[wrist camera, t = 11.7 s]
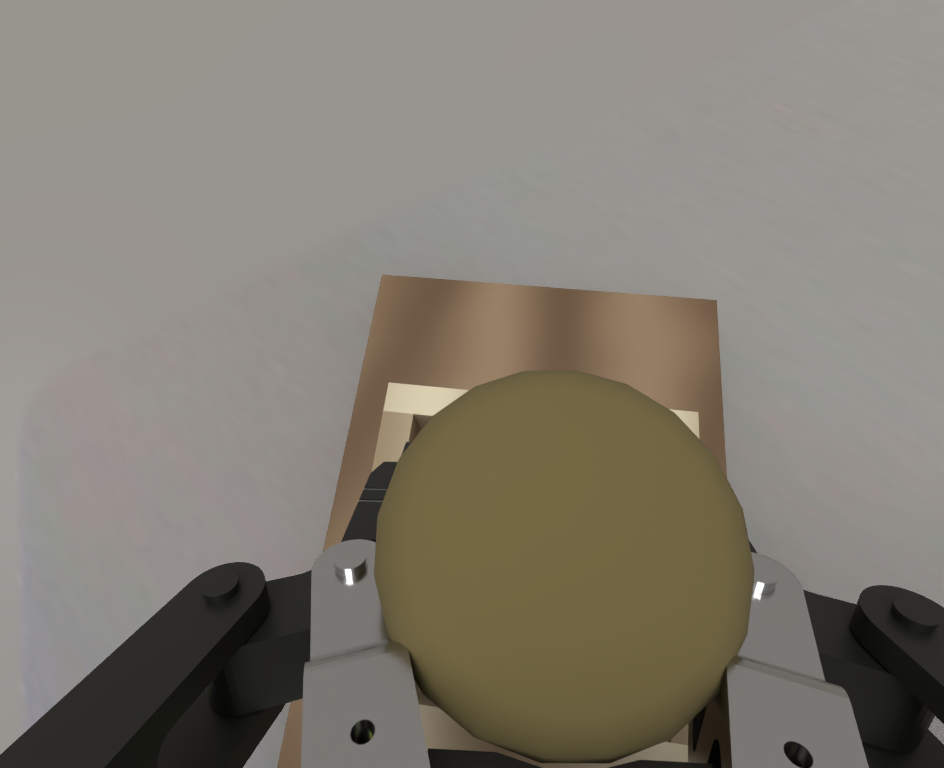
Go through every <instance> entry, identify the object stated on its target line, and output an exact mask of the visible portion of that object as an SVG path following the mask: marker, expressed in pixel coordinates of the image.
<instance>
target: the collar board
mask: <svg viewBox="0 0 944 768" xmlns="http://www.w3.org/2000/svg"><path fill="white" fill-rule="evenodd" d="M542 370H578V371H581V372H585V373H589V374H592V375H596V376H600V377H603V378H607V379H611V380H614V381H618V382H622V383H625V384H628V385H629V386H631V387H633V388H634V389H636V390H638V391H639V392H641V393H643V394H644V395H646V396H648V397H649V398H651V399H653V400H654V401H656V402H658V403H659V404H661V405H663V406H664V407H666V408H668V409H669V410H671V411H673V412H674V413H675V414H676V415H677V416H678V417H679V418H680V419H681V420H682V421H683V422H684V423H685V424H686V425H687V426H688V427H689V429H690V430H691V431H692V432H693V433H694V434H695V435H696V436H697V437H698V438H699V439H700V440H701V441H702V442H703V443H704V444H705V446H706V447H707V448H708V449H709V450H710V451H711V452H712V453H713V454H714V455H715V457H716V459H717V461H718V463H719V465H720V467H721V469H722V470H723V472H724V474H725V476H726V478H727V474H726V456H725V439H724V422H723V404H722V387H721V369H720V352H719V335H718V317H717V300H706V299H693V298H680V297H667V296H654V295H641V294H628V293H614V292H601V291H588V290H575V289H562V288H549V287H536V286H523V285H510V284H497V283H484V282H471V281H458V280H445V279H431V278H418V277H405V276H392V275H382V277H381V282H380V287H379V291H378V296H377V301H376V305H375V310H374V315H373V319H372V324H371V329H370V334H369V338H368V343H367V348H366V352H365V357H364V362H363V366H362V371H361V376H360V381H359V385H358V390H357V395H356V399H355V404H354V409H353V413H352V418H351V423H350V427H349V432H348V437H347V442H346V446H345V451H344V456H343V460H342V465H341V470H340V474H339V479H338V484H337V489H336V493H335V498H334V503H333V507H332V512H331V517H330V521H329V526H328V531H327V536H326V540H325V545H324V550H323V552H324V551H325V550H327V549H328V548H330V547H331V546H334V545H336V544H338V543H341V541H342V538H343V536H344V534H345V531H346V529H347V527H348V524H349V522H350V520H351V517H352V515H353V513H354V510H355V508H356V506H357V503H358V502H359V499H360V496H361V494H362V492H363V490H364V487H365V485H366V482H367V480H368V478H369V475H370V473H371V472H373V471H374V470H375V469H376V468H377V467H378V466H379V465H381V464H382V463H383V462H398V460H399V458H400V457H401V455H402V452H403V449H404V446H405V444H406V442H412V441H413V440H414V439H415V437H416V436H417V435H418V434H419V432H420V431H421V430H422V428H423V427H424V426H425V425H426V423H427V422H428V421H429V419H430V418H431V417H432V416H433V415H435V414H436V413H437V412H439V411H440V410H442V409H443V408H445V407H446V406H447V405H449V404H450V403H452V402H453V401H455V400H456V399H457V398H459V397H460V396H462V395H463V394H465V393H466V392H467V391H469V390H470V389H472V388H473V387H475V386H478V385H481V384H484V383H487V382H490V381H493V380H496V379H500V378H503V377H506V376H509V375H512V374H515V373H518V372H521V371H542ZM414 682H415V688H416V693H417V698H418V704H419V709H420V714H421V720H422V725H423V730H424V736H425V741H426V746H427V752H428V748H431V749H450V750H468V751H487V752H498V753H500V754H503V755H506V756H509V757H512V758H515V759H518V760H521V761H524V762H527V763H530V764H533V765H536V766H539V767H542V768H609V767H613V766H617V765H621V764H625V763H629V762H633V761H637V760H654V761H673V762H688V724H687V725H686V726H685V727H684V728H682V729H681V730H680V731H679V732H678V733H677V734H676V735H675V736H674V737H673V738H672V739H670V740H667V741H665V742H662V743H660V744H657V745H655V746H652V747H650V748H647V749H645V750H642V751H640V752H637V753H635V754H632V755H630V756H627V757H625V758H622V759H620V760H617V761H615V762H612V763H540V762H537V761H534V760H531V759H529V758H526V757H524V756H521V755H519V754H516V753H513V752H511V751H508V750H506V749H503V748H500V747H498V746H495V745H493V744H490V743H487V742H485V741H482V740H480V739H477V738H475V737H473V736H472V735H471V734H469V733H468V732H467V731H466V730H465V729H464V728H462V727H461V726H460V725H459V724H458V723H457V722H455V721H454V720H453V719H452V718H451V717H450V716H448V715H447V714H446V713H445V712H444V711H443V710H441V709H440V708H439V707H438V706H437V705H436V704H434V703H433V702H432V701H431V700H430V699H429V698H427V697H426V696H425V695H424V694H423V693H422V691H421V690H420V688H419V686H418V685H417V683H416V681H415V680H414ZM302 710H303V699H299V700H295V701H292V702H291V705H290V709H289V714H288V719H287V723H286V728H285V733H284V737H283V742H282V747H281V752H280V756H279V761H278V766H277V768H301V746H302Z"/></svg>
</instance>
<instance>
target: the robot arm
mask: <svg viewBox="0 0 944 768" xmlns="http://www.w3.org/2000/svg"><path fill="white" fill-rule="evenodd" d="M411 443H412V442H406V444H405V446H404V449H403V452H402V454H403V453H404V452H405V450H406V449H407V448H408V446H409V445H410V444H411ZM396 465H397V462H383V463H382V464H381V465H379V466H378V467H377V468H376V469H375V470H374V471H373V472H371V473H370V475H369V478H368V480H367V482H366V485H365V487H364V490H363V492H362V494H361V496H360V499H359V502H358V503H357V506H356V508H355V510H354V513H353V515H352V517H351V520H350V522H349V524H348V527H347V529H346V531H345V534H344V536H343V538H342V541H341V543H338V544H336V545H334V546H331V547H330V548H328V549H327V550H325V551H324V552H323V553H322V554H321V555H320V556H319V557H318V558H317V559H316V561H315V562H314V565H313V567H312V570H311V571H308V572H305V573H303V574H299V575H295V576H290V577H285V578H281V579H276V580H271V581H267V582H266V581H265V576H264V574H263V572H262V570H261V569H260V568H259V567H257V566H255V565H253V564H250V563H245V562H235V563H228V564H223V565H220V566H217V567H214V568H212V569H209V570H208V571H206V572H204V573H202V574H201V575H199V576H197V577H196V578H195V579H194V580H192V581H191V582H190V583H189V584H188V585H187V586H186V587H184V588H183V589H182V590H181V591H180V592H179V593H178V594H177V595H176V596H175V597H173V598H172V599H171V600H170V601H169V602H168V603H167V604H166V605H165V606H164V607H162V608H161V609H160V610H159V611H158V612H157V613H156V614H155V615H154V616H153V617H151V618H150V619H149V620H148V621H147V622H146V623H145V624H144V625H143V626H142V627H140V628H139V629H138V630H137V631H136V632H135V633H134V634H133V635H132V636H130V637H129V638H128V639H127V640H126V641H125V642H124V643H123V644H122V645H121V646H119V647H118V648H117V649H116V650H115V651H114V652H113V653H112V654H111V655H110V656H108V657H107V658H106V659H105V660H104V661H103V662H102V663H101V664H100V665H99V666H97V667H96V668H95V669H94V670H93V671H92V672H91V673H90V674H89V675H88V676H86V677H85V678H84V679H83V680H82V681H81V682H80V683H79V684H78V685H77V686H75V687H74V688H73V689H72V690H71V691H70V692H69V693H68V694H67V695H66V696H64V697H63V698H62V699H61V700H60V701H59V702H58V703H57V704H56V705H55V706H53V707H52V708H51V709H50V710H49V711H48V712H47V713H46V714H45V715H44V716H42V717H41V718H40V719H39V720H38V721H37V722H36V723H35V724H34V725H33V726H31V727H30V728H29V729H28V730H27V731H26V732H25V733H24V734H23V735H22V736H20V737H19V738H18V739H17V740H16V741H15V742H14V743H13V744H12V745H11V746H9V747H8V748H7V749H6V750H5V751H4V752H3V753H2V754H1V755H0V768H243V766H244V765H245V763H246V762H247V760H248V759H249V757H250V756H251V755H252V753H253V752H254V750H255V749H256V747H257V746H258V744H259V743H260V741H261V740H262V738H263V737H264V735H265V734H266V732H267V731H268V729H269V728H270V727H271V725H272V724H273V722H274V721H275V719H276V718H277V716H278V715H279V713H280V712H281V710H282V709H283V707H284V705H285V704H286V703H288V702H292V701H295V700H299V699H303V710H302V746H301V768H542V767H539V766H536V765H533V764H530V763H527V762H524V761H521V760H518V759H515V758H512V757H509V756H506V755H503V754H500V753H498V752H487V751H468V750H450V749H431V748H428V752H427V746H426V741H425V736H424V730H423V725H422V720H421V714H420V709H419V704H418V698H417V693H416V688H415V682H414V677H413V671H412V666H411V661H410V655H409V650H408V649H407V648H406V647H405V646H404V645H402V644H400V643H399V642H396V641H391V639H390V638H389V636H388V632H387V628H386V624H385V620H384V616H383V611H382V607H381V603H380V599H379V595H378V591H377V587H376V583H375V578H374V565H375V548H376V532H377V516H378V513H379V510H380V508H381V505H382V502H383V500H384V497H385V494H386V492H387V489H388V486H389V484H390V481H391V478H392V476H393V473H394V470H395V468H396ZM749 544H750V549H751V555H752V560H753V565H754V570H755V572H754V581H753V590H752V599H751V608H750V616H749V625H748V634H747V637H746V639H745V641H744V643H743V645H742V647H741V649H740V651H739V653H738V655H735V656H734V657H733V658H732V659H731V660H730V661H729V662H728V664H727V665H726V669H725V673H724V677H723V680H722V684H721V688H720V692H719V694H718V695H717V696H716V697H715V698H714V699H713V700H712V701H711V702H710V703H709V704H708V705H707V706H706V707H705V708H703V709H702V710H701V711H700V712H699V713H698V714H697V715H696V716H695V717H694V718H693V719H692V720H691V721H690V722H689V723H688V762H673V761H654V760H637V761H633V762H629V763H625V764H621V765H617V766H613V767H609V768H944V745H943V744H942V743H941V742H940V741H939V740H938V739H937V738H936V737H935V736H934V735H933V734H932V733H931V732H930V731H929V730H928V728H929V726H930V725H931V723H932V721H933V719H934V717H935V716H936V717H937V718H938V719H939V720H940V721H941V722H942V723H943V724H944V608H943V607H942V606H940V605H939V604H937V603H935V602H933V601H932V600H930V599H928V598H926V597H924V596H922V595H919V594H917V593H914V592H912V591H909V590H906V589H902V588H898V587H893V586H886V585H877V586H871V587H868V588H866V589H865V590H863V591H862V593H861V594H860V597H859V599H858V602H857V604H853V603H849V602H845V601H841V600H837V599H833V598H829V597H826V596H822V595H818V594H814V593H811V592H808V591H805V590H803V588H802V585H801V583H800V582H799V580H798V579H797V578H796V576H795V575H794V574H793V573H792V572H791V571H790V570H788V569H787V568H786V567H784V566H783V565H782V564H780V563H778V562H777V561H775V560H773V559H771V558H769V557H766V556H763V555H760V554H757V552H756V550H755V549H754V547H753V546H752V544H751V543H750V541H749Z"/></svg>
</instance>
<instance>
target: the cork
mask: <svg viewBox="0 0 944 768" xmlns="http://www.w3.org/2000/svg"><path fill="white" fill-rule="evenodd" d="M754 572H755V570H754V565H753V560H752V555H751V549H750V544H749V539H748V534H747V529H746V524H745V519H744V514H743V509H742V507H741V505H740V503H739V501H738V499H737V497H736V495H735V493H734V492H733V490H732V488H731V486H730V484H729V482H728V480H727V478H726V476H725V474H724V472H723V470H722V469H721V467H720V465H719V463H718V461H717V459H716V457H715V455H714V454H713V453H712V452H711V451H710V450H709V449H708V448H707V447H706V446H705V444H704V443H703V442H702V441H701V440H700V439H699V438H698V437H697V436H696V435H695V434H694V433H693V432H692V431H691V430H690V429H689V427H688V426H687V425H686V424H685V423H684V422H683V421H682V420H681V419H680V418H679V417H678V416H677V415H676V414H675V413H674V412H673V411H671V410H669V409H668V408H666V407H664V406H663V405H661V404H659V403H658V402H656V401H654V400H653V399H651V398H649V397H648V396H646V395H644V394H643V393H641V392H639V391H638V390H636V389H634V388H633V387H631V386H629V385H628V384H625V383H622V382H618V381H614V380H611V379H607V378H603V377H600V376H596V375H592V374H589V373H585V372H581V371H578V370H542V371H521V372H518V373H515V374H512V375H509V376H506V377H503V378H500V379H496V380H493V381H490V382H487V383H484V384H481V385H478V386H475V387H473V388H472V389H470V390H469V391H467V392H466V393H465V394H463V395H462V396H460V397H459V398H457V399H456V400H455V401H453V402H452V403H450V404H449V405H447V406H446V407H445V408H443V409H442V410H440V411H439V412H437V413H436V414H435V415H433V416H432V417H431V418H430V419H429V421H428V422H427V423H426V425H425V426H424V427H423V428H422V430H421V431H420V432H419V434H418V435H417V436H416V437H415V439H414V440H413V441H412V443H411V444H410V445H409V446H408V448H407V449H406V450H405V452H404V453H403V454H402V455H401V457H400V458H399V460H398V462H397V465H396V468H395V470H394V473H393V476H392V478H391V481H390V484H389V486H388V489H387V492H386V494H385V497H384V500H383V502H382V505H381V508H380V510H379V513H378V516H377V532H376V548H375V565H374V578H375V583H376V587H377V591H378V595H379V599H380V603H381V607H382V611H383V616H384V620H385V624H386V628H387V632H388V636H389V638H390V639H391V641H396V642H399V643H400V644H402V645H404V646H405V647H406V648H407V649H408V650H409V655H410V661H411V666H412V671H413V677H414V680H415V681H416V683H417V685H418V686H419V688H420V690H421V691H422V693H423V694H424V695H425V696H426V697H427V698H429V699H430V700H431V701H432V702H433V703H434V704H436V705H437V706H438V707H439V708H440V709H441V710H443V711H444V712H445V713H446V714H447V715H448V716H450V717H451V718H452V719H453V720H454V721H455V722H457V723H458V724H459V725H460V726H461V727H462V728H464V729H465V730H466V731H467V732H468V733H469V734H471V735H472V736H473V737H475V738H477V739H480V740H482V741H485V742H487V743H490V744H493V745H495V746H498V747H500V748H503V749H506V750H508V751H511V752H513V753H516V754H519V755H521V756H524V757H526V758H529V759H531V760H534V761H537V762H540V763H612V762H615V761H617V760H620V759H622V758H625V757H627V756H630V755H632V754H635V753H637V752H640V751H642V750H645V749H647V748H650V747H652V746H655V745H657V744H660V743H662V742H665V741H667V740H670V739H672V738H673V737H674V736H675V735H676V734H677V733H678V732H679V731H680V730H681V729H682V728H684V727H685V726H686V725H687V724H688V723H689V722H690V721H691V720H692V719H693V718H694V717H695V716H696V715H697V714H698V713H699V712H700V711H701V710H702V709H703V708H705V707H706V706H707V705H708V704H709V703H710V702H711V701H712V700H713V699H714V698H715V697H716V696H717V695H718V694H719V692H720V688H721V684H722V680H723V677H724V673H725V669H726V665H727V664H728V662H729V661H730V660H731V659H732V658H733V657H734V656H735V655H738V653H739V651H740V649H741V647H742V645H743V643H744V641H745V639H746V637H747V634H748V625H749V616H750V608H751V599H752V590H753V581H754Z"/></svg>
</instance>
